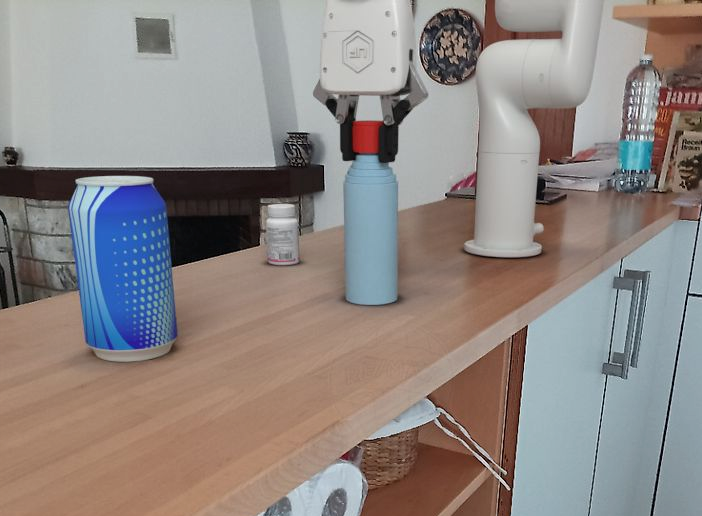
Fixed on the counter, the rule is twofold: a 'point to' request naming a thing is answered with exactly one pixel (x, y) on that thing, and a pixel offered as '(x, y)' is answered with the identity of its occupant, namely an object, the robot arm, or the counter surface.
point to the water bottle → (371, 231)
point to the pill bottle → (282, 235)
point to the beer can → (123, 267)
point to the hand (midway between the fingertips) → (368, 159)
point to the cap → (366, 136)
